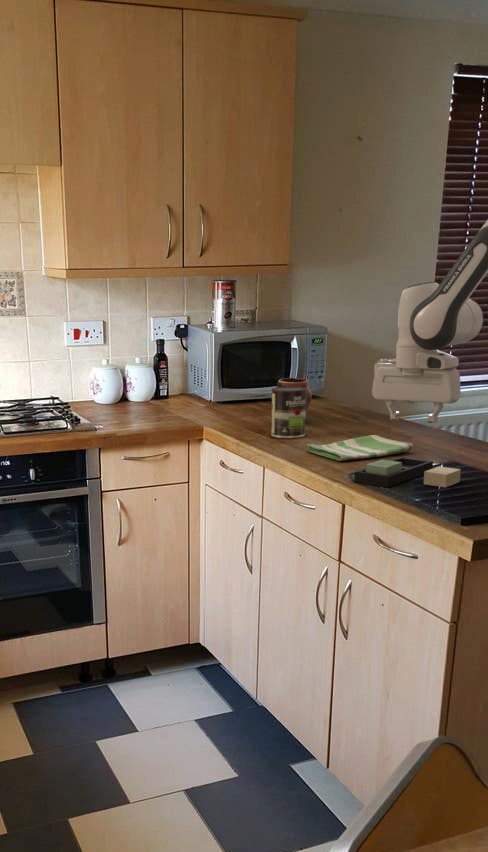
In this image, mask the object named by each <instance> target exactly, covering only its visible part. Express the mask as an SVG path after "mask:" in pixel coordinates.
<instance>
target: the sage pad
mask: <svg viewBox="0 0 488 852" xmlns="http://www.w3.org/2000/svg"><path fill="white" fill-rule="evenodd" d="M365 468H366V472H367V473H374V474H381V475H390V474H393V473H396V472H399V471H402V462H395V461H389V460H388V459H387V460H386V459H379V460H376V461H373V462H370V463H366V464H365Z"/></svg>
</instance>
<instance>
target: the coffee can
mask: <svg viewBox="0 0 488 852" xmlns="http://www.w3.org/2000/svg"><path fill="white" fill-rule="evenodd" d="M306 390H307V389H306V388H304V387H277V386H276V387H272V388H271V434H270V436H271V437H273V438H276V439H300V438H303V437H305V436H306V416H305V410H306Z"/></svg>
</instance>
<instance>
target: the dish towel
mask: <svg viewBox="0 0 488 852" xmlns="http://www.w3.org/2000/svg"><path fill="white" fill-rule="evenodd" d="M306 446H307V447H308V452H309V453H312V454H315V455H318V456H322V457H324V458H329V459H330V460H334V461H339V462H345V461H353V460H361V459H362V460H363V459H371V458H378V457H384V456H391V455H398V454H402V453H406V452H409V451H411V449H412V448H413V447H414V444H413V443H410V442H407V441H401V440H395V439H390V438H386V437H382V436H380V435H376V434H371V435H366V436H365V435H364V436H360V437H359V436H358V437H353V438H349V439H346V440H345V439H344V440H338V441H334V442H332V443H328V444H314V443H307V444H306Z"/></svg>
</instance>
